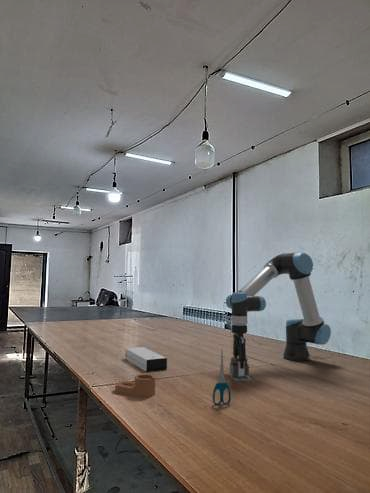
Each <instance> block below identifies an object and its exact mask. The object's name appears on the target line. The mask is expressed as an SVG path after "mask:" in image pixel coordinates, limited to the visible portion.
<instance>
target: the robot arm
mask: <svg viewBox="0 0 370 493" xmlns="http://www.w3.org/2000/svg"><path fill="white" fill-rule="evenodd" d="M313 267H314V263H313V259H312V257H311V256H310V255H309V254H307V253H306V252H299V251H298V252H289V253H281V254H278V255H276V256H274V257H272V258H271V259H270V260H269V261H268V262H266V263H265V264H264V266H263V268H262V269H261V270H260V271H259V272H257V274H256V275H255V276H253V277H252V278H251V279H250V280H249V281H248V282H247V283H246V284H245V285H243V286H242V287H241V288H240V289H239V290H237V291H235V292H232V294H229V295H228V296H227V297H226V299H225V304H226V306H227V308H228V309H230V310H231V317H230V320H231V333H232V334H233V335H232V336H233V344H232V346H233V347H232V349H233V351H232V354H233V357H237V356H239V360H238V375H239V376H244V364H245V361H246V358H247V355H246V351H247V350H246V340H247V339H246V338H245V336H244V334H247V333H248V325H247V324H248V313H249V312H257V313H258V312H262V311H264V310H265V308H266V307H267V301H266V299H265V297H264V296H261V295H257V294H258V293H259V292H260V291H261V290H262V289H263V288H265V286H267V284H269V283H270V282H271V280H273V279H276V278H277V277H279V276H281V275H289V279H290V280H291V281H293V284H294V287H295V291H296V295H297V296H296V297H297V298H298V299H297V300H298V303H299V306H300V309H301V314H302V316H303V318H298V319H297V318H296V319H288V320H286V323H285V338H286V339H285V342H286V343H285V344H286V345H285V347H284V351H283V354H282V356H283V359H285V360H289V361H296V362H297V361H299V362H307V361H309V360H311V355H310V353H309V352H310V351H309V349H308V346H307V344H308V343H309V344H314V345H321V346H322V345H323V346H324V345H326V344H327V343H328V342H329V341H330V339H331V333H332V330H331V327H330V325H329V324H327V323H325V321H324V319H323V317H321V316H320V313H319V310H318V306H317V302H316V298H315V294H314V291H313V287H312V284H311V280H310V277H311V275H312V271H313V269H314V268H313Z"/></svg>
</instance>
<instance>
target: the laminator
mask: <svg viewBox="0 0 370 493" xmlns="http://www.w3.org/2000/svg"><path fill="white" fill-rule="evenodd" d="M124 352H125V353H124V358H125V361H127V362H129V363H131V364H132V365H134V366H136V367H137V368H139V369H140V370H142V371H144V372H145V373H147V372H155V371H163V370H165V371H166V370H167V369H168V358H167V357H165V356H163V355H161V354H159V353H156V352H155V351H153V350H150V349H148V348H147V347H144V346H137V347H126V348H125V351H124Z"/></svg>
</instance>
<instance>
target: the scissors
mask: <svg viewBox="0 0 370 493" xmlns="http://www.w3.org/2000/svg"><path fill="white" fill-rule="evenodd" d="M220 353H221V354H220V356H221V357H220V368H219V369H220V370H219V378H218V381H217V382H216V383H215V386H214V388H213V392H212V403H213V404H214V405H215V406H219V405H221V404H224V405H226V404H227V405H229V404H230V403H231V398H232V397H231V396H232V395H231V390H230V386H229V384H228V382H227V381H226V379H225V371H224V368H225V367H224V356H223V355H224V352H223V349H221V352H220ZM217 390H219V401H218V402H216V400H215V398H216V392H217ZM225 390H227V391H228V399H227V401H225V400H224V393H225Z"/></svg>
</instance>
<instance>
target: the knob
mask: <svg viewBox="0 0 370 493" xmlns="http://www.w3.org/2000/svg"><path fill="white" fill-rule="evenodd" d="M238 360H239V356H237V357H234V356H232V357H230V362H229V372H231V374H232V375H233V376H239V375H238ZM249 368H250V365H249V364H248V358H247V357H246V361H245V364H244V376H247V375H248V376H250V374H249V373H250V370H249Z"/></svg>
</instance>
